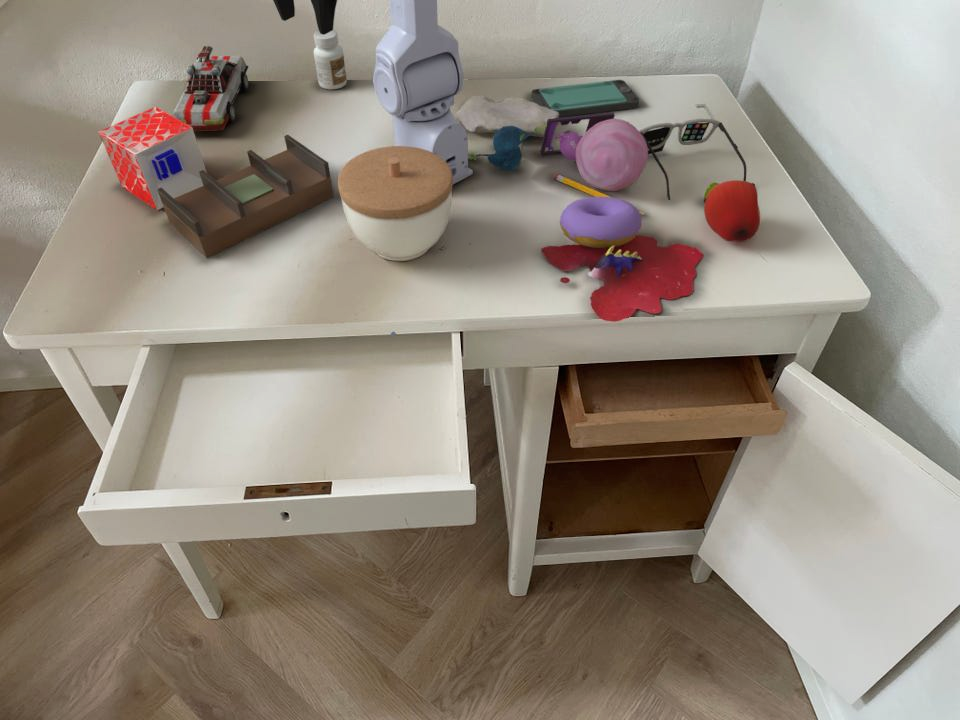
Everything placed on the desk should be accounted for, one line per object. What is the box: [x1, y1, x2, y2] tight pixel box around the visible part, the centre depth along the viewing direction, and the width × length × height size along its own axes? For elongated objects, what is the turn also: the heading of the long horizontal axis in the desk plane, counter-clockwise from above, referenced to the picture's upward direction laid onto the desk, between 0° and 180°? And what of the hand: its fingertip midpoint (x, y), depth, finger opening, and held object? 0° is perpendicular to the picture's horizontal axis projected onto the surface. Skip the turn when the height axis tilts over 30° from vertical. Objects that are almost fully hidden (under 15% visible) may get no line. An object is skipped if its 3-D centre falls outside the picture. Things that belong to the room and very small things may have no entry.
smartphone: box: [530, 79, 641, 118], centre depth 107 cm, size 7×1×15 cm
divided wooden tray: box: [157, 134, 335, 259], centre depth 87 cm, size 9×18×5 cm, turn 133°
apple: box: [703, 180, 761, 242], centre depth 85 cm, size 8×7×10 cm
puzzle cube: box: [98, 106, 208, 211], centre depth 90 cm, size 8×8×8 cm
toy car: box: [171, 45, 250, 132], centre depth 103 cm, size 8×18×8 cm, turn 1°
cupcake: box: [575, 118, 649, 192], centre depth 91 cm, size 9×9×10 cm
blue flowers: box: [468, 121, 547, 171], centre depth 95 cm, size 12×4×8 cm
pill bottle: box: [313, 29, 348, 90], centre depth 108 cm, size 4×4×8 cm
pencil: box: [553, 173, 645, 216], centre depth 91 cm, size 1×13×1 cm, turn 52°
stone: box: [456, 95, 560, 138], centre depth 101 cm, size 11×3×15 cm
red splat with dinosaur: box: [540, 234, 704, 323], centre depth 81 cm, size 18×15×5 cm
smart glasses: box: [638, 103, 748, 201], centre depth 95 cm, size 12×14×5 cm
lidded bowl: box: [337, 145, 454, 262], centre depth 81 cm, size 13×13×11 cm
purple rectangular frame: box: [540, 111, 616, 162], centre depth 95 cm, size 7×5×9 cm
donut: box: [559, 196, 643, 248], centre depth 83 cm, size 10×9×5 cm
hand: (307, 24), depth 104 cm, fingers open, 7 cm apart
